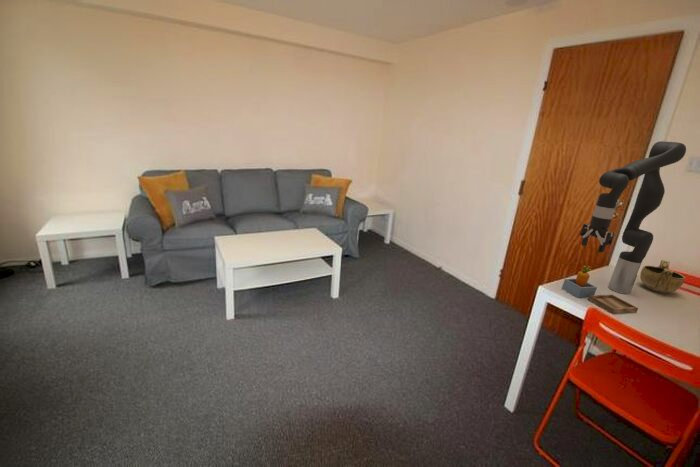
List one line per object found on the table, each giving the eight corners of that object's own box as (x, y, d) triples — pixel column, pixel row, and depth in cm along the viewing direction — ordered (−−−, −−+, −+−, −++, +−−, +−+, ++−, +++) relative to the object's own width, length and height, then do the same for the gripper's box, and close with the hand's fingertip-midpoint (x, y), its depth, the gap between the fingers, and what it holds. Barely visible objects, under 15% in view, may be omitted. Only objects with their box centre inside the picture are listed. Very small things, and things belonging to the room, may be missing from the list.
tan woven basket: (678, 303, 167) (691, 275, 162) (636, 290, 177) (646, 264, 172) (674, 289, 184) (686, 264, 179) (635, 278, 194) (645, 254, 189)
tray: (610, 298, 164) (612, 294, 163) (636, 312, 153) (638, 307, 152) (587, 299, 160) (589, 295, 159) (612, 314, 149) (614, 309, 148)
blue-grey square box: (576, 288, 172) (579, 278, 171) (593, 297, 164) (597, 287, 162) (561, 288, 170) (564, 278, 168) (578, 298, 161) (581, 287, 159)
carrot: (579, 291, 169) (589, 264, 164) (585, 296, 164) (595, 268, 160) (569, 290, 169) (578, 262, 165) (574, 294, 165) (584, 266, 160)
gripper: (623, 220, 149) (612, 254, 154) (594, 212, 162) (584, 243, 167) (610, 220, 147) (599, 254, 152) (582, 212, 160) (572, 243, 165)
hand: (591, 248), depth 159 cm, fingers open, 8 cm apart
